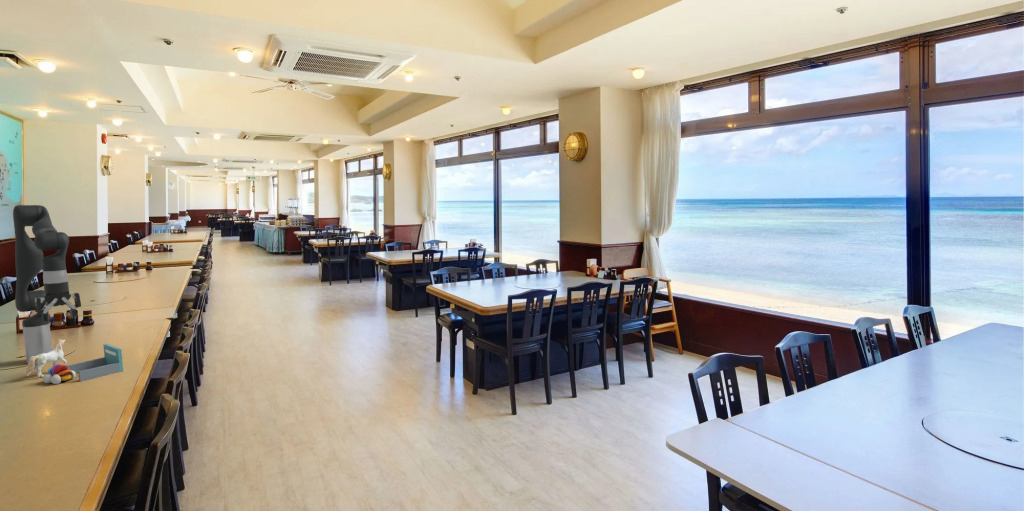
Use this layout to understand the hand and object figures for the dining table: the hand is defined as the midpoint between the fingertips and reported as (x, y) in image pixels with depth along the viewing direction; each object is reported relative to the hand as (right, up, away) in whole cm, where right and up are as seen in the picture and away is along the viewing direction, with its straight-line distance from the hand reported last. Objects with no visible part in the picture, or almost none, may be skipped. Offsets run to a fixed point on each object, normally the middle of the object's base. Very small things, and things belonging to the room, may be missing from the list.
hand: (59, 320), depth 212 cm
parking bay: (+4, -25, +13) cm, 28 cm away
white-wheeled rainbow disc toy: (-2, -26, +3) cm, 26 cm away
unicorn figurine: (-17, -25, +13) cm, 33 cm away
